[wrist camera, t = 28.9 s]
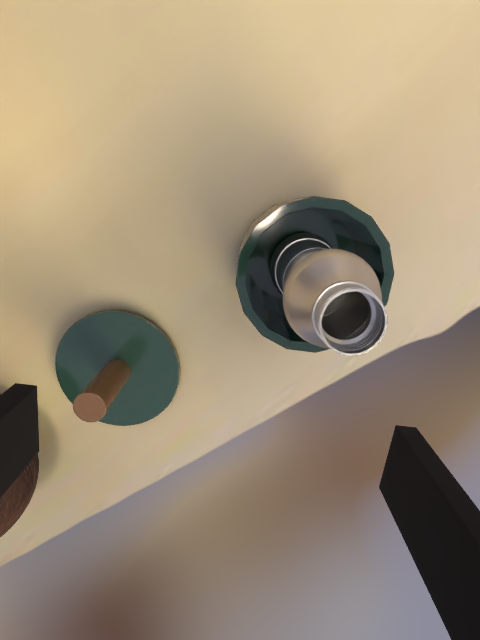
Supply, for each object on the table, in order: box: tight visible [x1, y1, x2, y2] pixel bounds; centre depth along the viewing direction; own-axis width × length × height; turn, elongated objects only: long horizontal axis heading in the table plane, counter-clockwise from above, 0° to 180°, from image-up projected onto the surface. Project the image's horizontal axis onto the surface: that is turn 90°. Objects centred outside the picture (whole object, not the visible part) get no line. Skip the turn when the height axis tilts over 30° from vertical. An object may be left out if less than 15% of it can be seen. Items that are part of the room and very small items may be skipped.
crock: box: [236, 196, 394, 352], centre depth 36 cm, size 13×13×9 cm
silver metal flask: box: [270, 233, 387, 356], centre depth 30 cm, size 6×7×20 cm
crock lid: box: [56, 310, 180, 426], centre depth 39 cm, size 14×14×9 cm
